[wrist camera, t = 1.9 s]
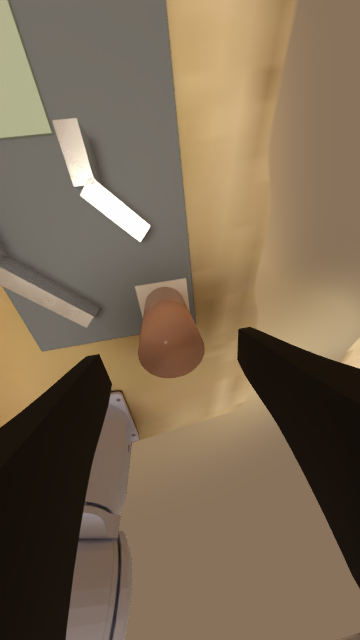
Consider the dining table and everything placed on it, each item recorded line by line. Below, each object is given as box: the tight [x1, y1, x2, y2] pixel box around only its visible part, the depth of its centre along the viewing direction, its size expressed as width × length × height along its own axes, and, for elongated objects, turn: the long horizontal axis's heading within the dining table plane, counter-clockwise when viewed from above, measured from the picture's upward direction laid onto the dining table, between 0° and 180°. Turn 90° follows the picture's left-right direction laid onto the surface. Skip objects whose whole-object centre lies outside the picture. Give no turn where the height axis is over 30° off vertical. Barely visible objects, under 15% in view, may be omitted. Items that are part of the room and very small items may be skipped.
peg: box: [138, 287, 204, 378], centre depth 12 cm, size 4×4×7 cm
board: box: [0, 0, 196, 351], centre depth 12 cm, size 20×15×1 cm
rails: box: [0, 118, 151, 328], centre depth 12 cm, size 12×12×2 cm
